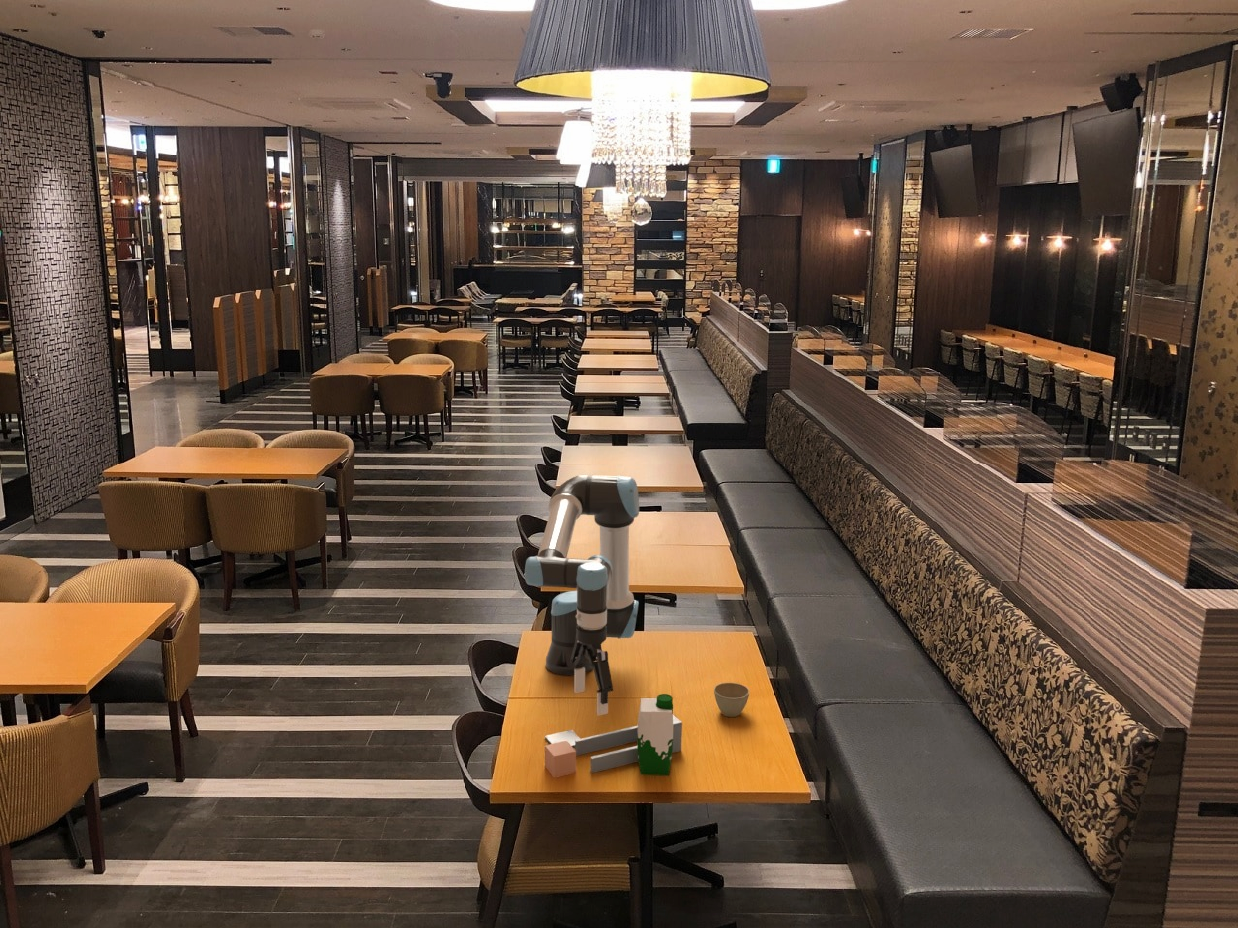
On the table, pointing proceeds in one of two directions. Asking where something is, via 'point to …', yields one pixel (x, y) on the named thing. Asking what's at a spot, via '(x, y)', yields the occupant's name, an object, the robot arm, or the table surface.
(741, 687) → the flower pot
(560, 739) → the coaster
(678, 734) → the chute
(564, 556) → the robot arm
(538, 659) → the table surface
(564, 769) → the block
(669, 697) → the milk carton
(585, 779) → the table surface
